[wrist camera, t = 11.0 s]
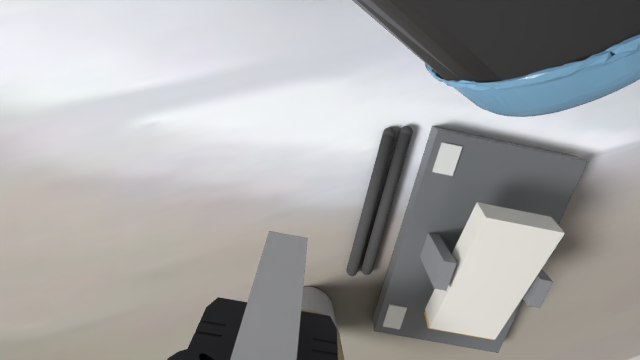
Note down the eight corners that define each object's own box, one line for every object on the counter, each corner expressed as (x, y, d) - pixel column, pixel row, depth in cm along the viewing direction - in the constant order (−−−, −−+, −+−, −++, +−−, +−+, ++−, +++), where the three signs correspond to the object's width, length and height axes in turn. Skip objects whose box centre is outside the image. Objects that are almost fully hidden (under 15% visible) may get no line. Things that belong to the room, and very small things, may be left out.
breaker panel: (432, 126, 37) (457, 144, 30) (574, 156, 38) (631, 181, 31) (372, 319, 45) (381, 369, 38) (491, 340, 46) (521, 393, 39)
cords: (385, 120, 37) (387, 122, 36) (412, 126, 37) (415, 128, 36) (345, 270, 43) (345, 277, 42) (369, 275, 43) (370, 281, 42)
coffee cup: (359, 290, 44) (376, 406, 30) (327, 348, 47) (328, 479, 33) (284, 262, 43) (265, 369, 29) (256, 323, 46) (226, 448, 32)
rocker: (476, 202, 33) (485, 217, 31) (551, 216, 34) (564, 233, 32) (423, 311, 40) (428, 329, 38) (485, 322, 41) (493, 341, 39)
